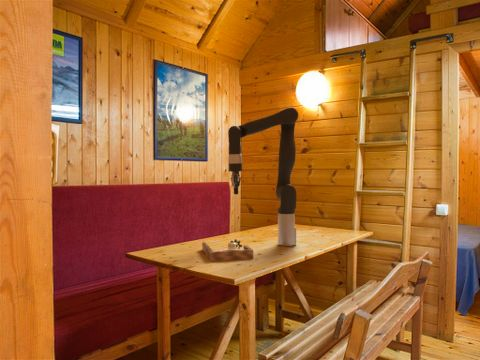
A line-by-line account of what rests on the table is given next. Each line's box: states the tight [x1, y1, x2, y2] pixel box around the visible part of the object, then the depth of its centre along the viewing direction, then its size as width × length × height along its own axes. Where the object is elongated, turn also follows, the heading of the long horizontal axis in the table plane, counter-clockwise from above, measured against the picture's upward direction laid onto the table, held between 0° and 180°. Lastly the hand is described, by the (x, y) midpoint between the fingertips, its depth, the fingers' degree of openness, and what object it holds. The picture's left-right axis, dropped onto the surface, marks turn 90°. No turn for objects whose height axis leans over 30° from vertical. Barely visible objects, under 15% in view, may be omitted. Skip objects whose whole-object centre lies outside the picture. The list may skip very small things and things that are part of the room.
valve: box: [227, 238, 243, 249], centre depth 181 cm, size 7×7×12 cm
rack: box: [201, 241, 254, 262], centre depth 182 cm, size 20×26×5 cm
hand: (236, 194), depth 204 cm, fingers closed
